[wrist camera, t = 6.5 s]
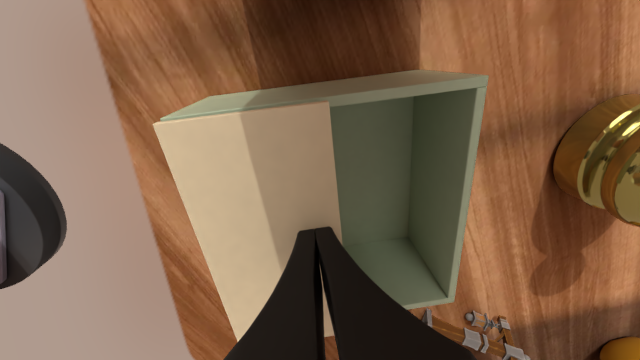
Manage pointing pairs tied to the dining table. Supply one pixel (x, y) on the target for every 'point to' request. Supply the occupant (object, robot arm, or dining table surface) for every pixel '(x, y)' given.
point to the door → (254, 194)
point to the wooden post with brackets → (510, 355)
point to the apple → (621, 349)
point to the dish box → (393, 170)
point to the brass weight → (604, 158)
